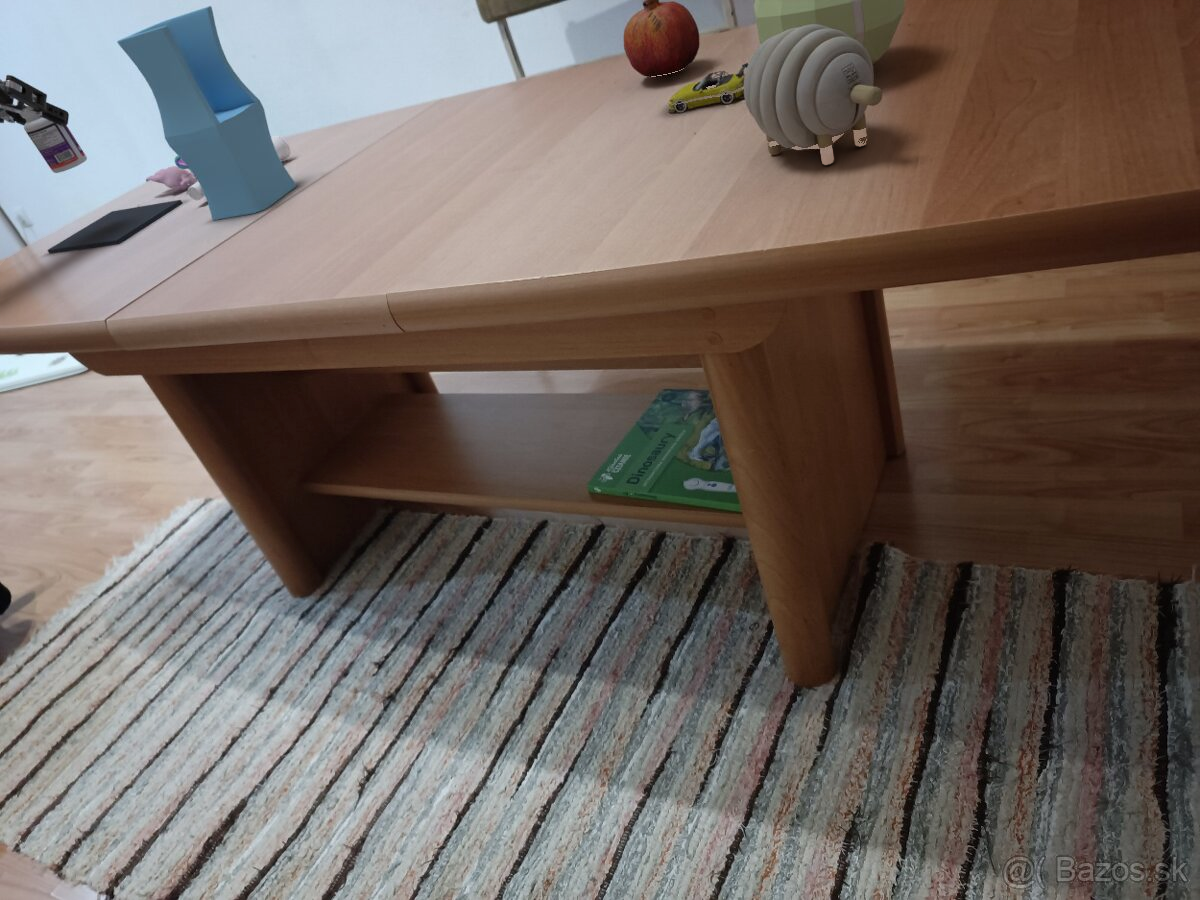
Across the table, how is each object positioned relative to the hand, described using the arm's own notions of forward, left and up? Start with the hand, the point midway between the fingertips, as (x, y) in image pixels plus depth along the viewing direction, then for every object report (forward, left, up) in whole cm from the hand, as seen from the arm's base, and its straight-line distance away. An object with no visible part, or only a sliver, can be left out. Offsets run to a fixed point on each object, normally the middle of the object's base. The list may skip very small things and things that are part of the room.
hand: (54, 122), depth 132 cm
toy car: (+98, +12, -17) cm, 100 cm away
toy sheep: (+115, -9, -17) cm, 117 cm away
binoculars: (+18, +12, -17) cm, 28 cm away
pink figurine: (+2, +14, -17) cm, 22 cm away
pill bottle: (0, -2, -6) cm, 7 cm away
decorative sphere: (+113, +12, -17) cm, 115 cm away
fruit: (+88, +26, -17) cm, 93 cm away
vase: (+30, +2, -17) cm, 35 cm away
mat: (-1, 0, -17) cm, 17 cm away
